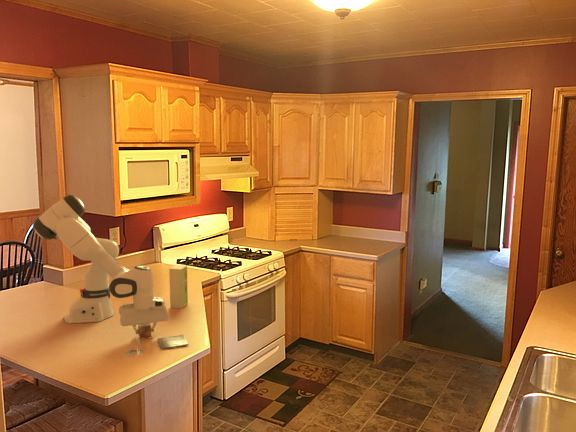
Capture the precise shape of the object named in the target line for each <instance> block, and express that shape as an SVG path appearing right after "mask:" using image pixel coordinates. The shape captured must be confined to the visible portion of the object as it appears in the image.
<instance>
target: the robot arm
mask: <svg viewBox="0 0 576 432" xmlns="http://www.w3.org/2000/svg"><path fill="white" fill-rule="evenodd" d="M85 211H86V207H85V205H84V202H83V201H82V200H81V199H80V198H79V197H77V196H74V195H73V194H69V195H66V196H64V197H62V199H60V200H59V201H57V202H56V203H54V204H53V205H51V206H49V208H48V209H46V210H45V211H44V212H43V213H42V214H41V215H40V216H39V217H37V218H36V219H35V220H34V221H33V224H32V227H33V228H34V229H33V230H34V231H35V233H36V234H37V235H38V236H39V237H40V238H42V239H44V240H49V241H51V240H58V238H59V239H60V241H61V243H62V244H63V245H64V246H65V247H66V248H67V250H68V251H69V252H70V253H71V254H72V255H73V256H75V257H76V258H78V259H79V260H81V261H89V262H90V266H89V268H88V269H87V270H86V271H85V272H84V276H83V279H84V288H83V287H80V288H79V293H80V297H79V298H77V299H76V300H75V301H74V302H72V303H71V304H70V307H69V309H68V313H66V314H65V315H64V318H63V320H64V322H65V323H66V324H82V323H96V322H102V321H104V320H105V319H108V318H111V317H112V316H113V315H114V314H115V312H114V310H113V307H112V301H111V295H112V296H113V297H115V298H117V299H124V298H129V297H132V303H127V304H122V305H120V306H119V308H118V314H119V315H120V317H119V323H120V325H121V327H129V326H130V327H131V326H132V328H133V329H134V333H135V335H138V334H139V329H138V328H137V326H138V324H146V323H150V324H151V323H152V325H151V333H154V332H155V328H156V327H157V324H158V323H160V322H166V321H168V319H169V314H168V313H169V312H168V309H167V306H166V305H165V304H166V302H165V299H164V298H163V297H160V296H156V295H155V294H154V291H153V290H154V286H155V285H154V276H153V275H154V274H153V271H152V269H151V268H150V267H149V266H146V265H135V266H133V267H132V268H131V269H129V268H127V267H125V266H123V265H121V264H120V263H119V262H118V261H117V260H116V259H117V258H118V257H119V253H120V247H119V244H118V243H117V242H116V241H114V240H110V239H107V238H99V237H95V235H94V234H93V233H92V231H91V230H92V229H91V227H90V226H89V224H88V223H86V221H85V220H83V218H81V217H83V216H84V215H83V214H84V213H85ZM109 277H110V278H111V280H110V278H109ZM109 280H110V281H109Z"/></svg>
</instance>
